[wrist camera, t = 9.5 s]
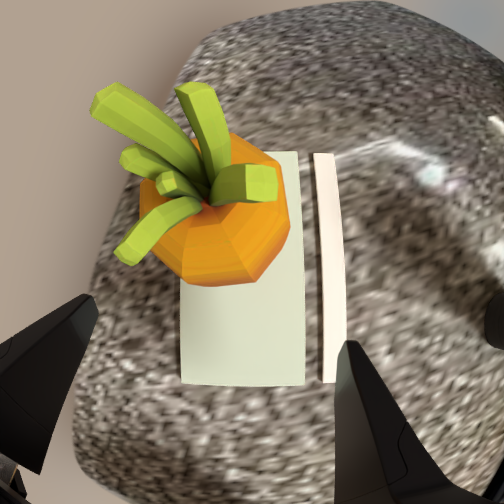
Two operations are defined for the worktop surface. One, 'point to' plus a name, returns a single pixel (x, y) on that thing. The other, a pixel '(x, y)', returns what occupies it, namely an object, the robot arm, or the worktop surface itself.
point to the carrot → (197, 189)
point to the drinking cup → (495, 322)
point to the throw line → (330, 263)
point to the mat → (251, 315)
